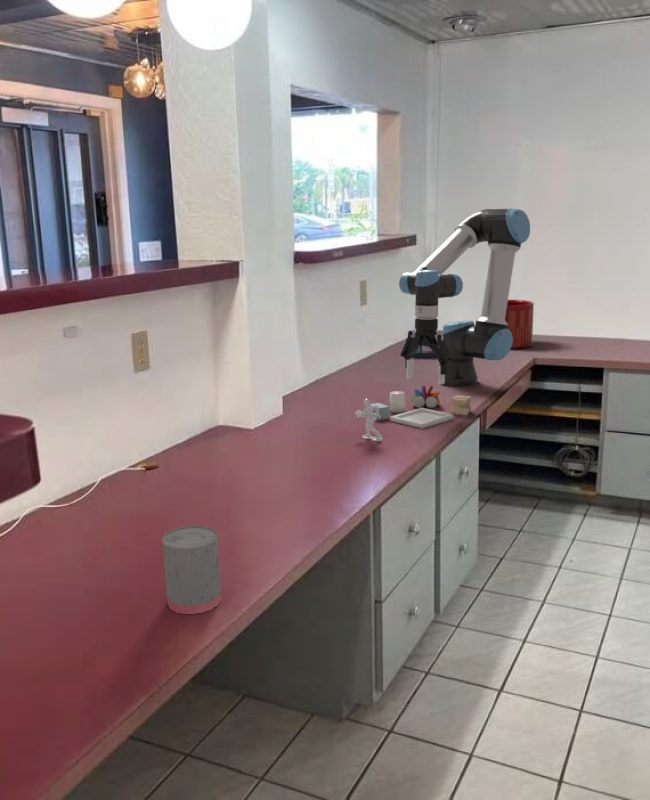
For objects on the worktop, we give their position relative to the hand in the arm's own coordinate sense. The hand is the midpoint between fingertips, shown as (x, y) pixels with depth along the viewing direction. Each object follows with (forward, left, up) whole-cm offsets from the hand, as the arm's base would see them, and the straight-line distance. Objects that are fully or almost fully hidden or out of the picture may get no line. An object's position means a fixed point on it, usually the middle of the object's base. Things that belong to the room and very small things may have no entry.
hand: (425, 381), depth 263 cm
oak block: (-1, +14, -9) cm, 17 cm away
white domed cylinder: (+11, -3, -9) cm, 14 cm away
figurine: (+40, +12, -9) cm, 42 cm away
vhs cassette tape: (-66, -53, -9) cm, 85 cm away
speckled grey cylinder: (+131, +57, -9) cm, 143 cm away
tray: (+14, +10, -9) cm, 20 cm away
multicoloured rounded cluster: (0, 0, -9) cm, 9 cm away
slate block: (+21, -2, -9) cm, 22 cm away
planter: (-111, -44, -9) cm, 120 cm away
